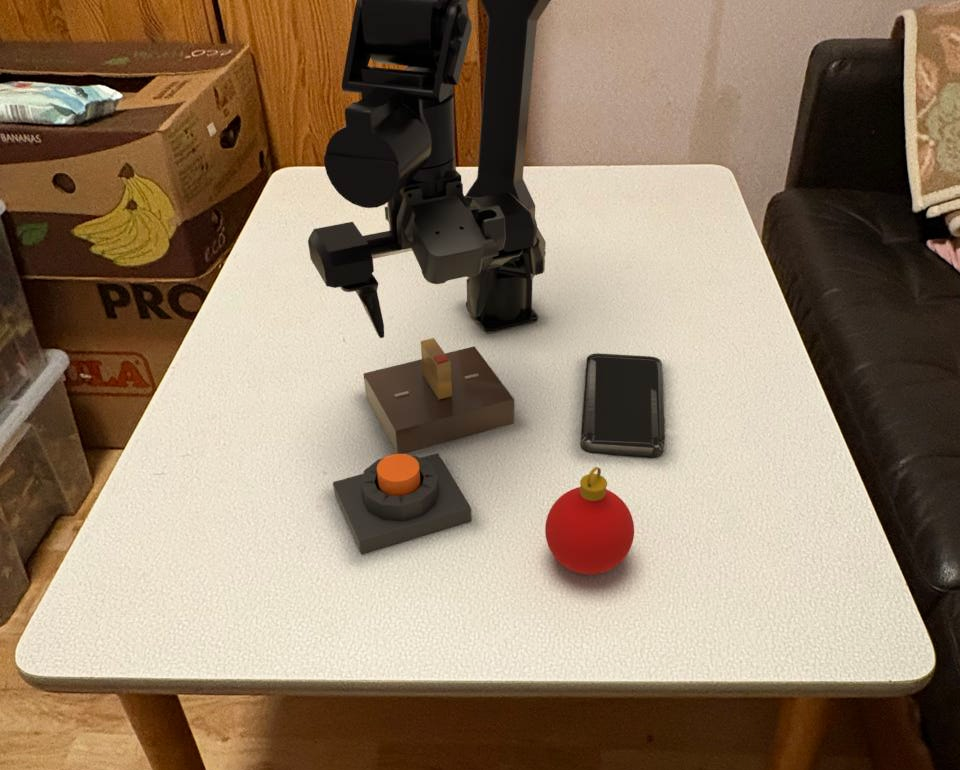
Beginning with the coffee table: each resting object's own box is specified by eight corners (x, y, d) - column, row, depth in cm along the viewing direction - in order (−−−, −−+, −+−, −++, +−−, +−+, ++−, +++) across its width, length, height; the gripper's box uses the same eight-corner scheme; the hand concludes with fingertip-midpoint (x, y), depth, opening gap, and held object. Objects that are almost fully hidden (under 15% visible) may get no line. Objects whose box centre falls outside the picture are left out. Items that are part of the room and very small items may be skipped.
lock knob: (422, 375, 90) (420, 338, 87) (435, 371, 91) (433, 335, 88) (438, 400, 87) (436, 363, 84) (452, 396, 87) (450, 359, 85)
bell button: (412, 464, 80) (410, 449, 79) (426, 489, 77) (425, 474, 76) (373, 475, 79) (371, 459, 78) (386, 501, 76) (384, 485, 75)
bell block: (439, 466, 84) (437, 437, 82) (471, 521, 79) (470, 492, 77) (334, 495, 82) (329, 466, 79) (361, 555, 76) (356, 525, 74)
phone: (580, 442, 85) (587, 352, 96) (579, 452, 86) (586, 361, 97) (666, 448, 84) (663, 356, 95) (664, 458, 85) (661, 365, 96)
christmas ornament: (576, 518, 79) (583, 428, 72) (646, 555, 76) (660, 464, 69) (526, 565, 75) (529, 474, 68) (598, 606, 72) (608, 515, 65)
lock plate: (475, 369, 96) (474, 344, 94) (514, 423, 89) (514, 397, 87) (366, 397, 93) (362, 372, 90) (397, 455, 86) (395, 429, 84)
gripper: (333, 217, 64) (355, 397, 74) (570, 173, 69) (561, 347, 79) (294, 160, 72) (319, 330, 82) (511, 124, 77) (509, 288, 87)
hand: (429, 324), depth 82 cm, fingers open, 9 cm apart
